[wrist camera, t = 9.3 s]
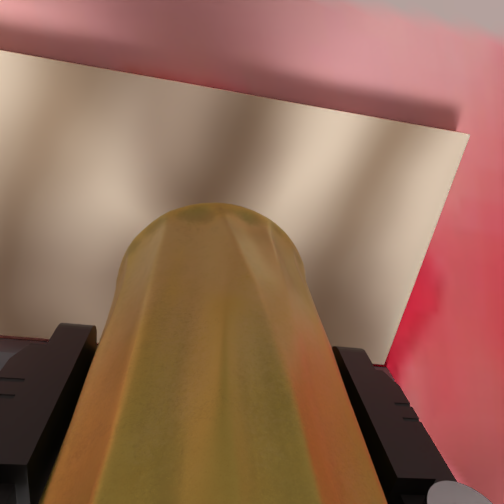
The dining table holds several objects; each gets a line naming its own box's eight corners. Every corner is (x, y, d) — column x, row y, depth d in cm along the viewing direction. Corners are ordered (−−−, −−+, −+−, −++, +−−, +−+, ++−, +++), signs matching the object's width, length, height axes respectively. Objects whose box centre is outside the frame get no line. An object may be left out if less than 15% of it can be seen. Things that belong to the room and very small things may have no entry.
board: (456, 131, 17) (470, 134, 16) (376, 352, 22) (384, 364, 21) (-46, 41, 14) (-63, 39, 13) (-13, 320, 19) (-25, 333, 18)
